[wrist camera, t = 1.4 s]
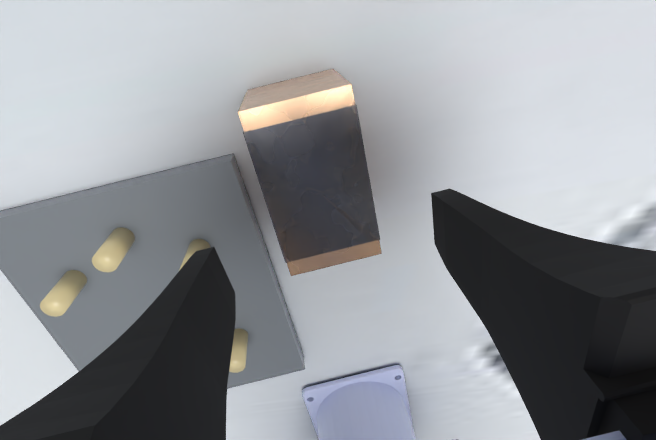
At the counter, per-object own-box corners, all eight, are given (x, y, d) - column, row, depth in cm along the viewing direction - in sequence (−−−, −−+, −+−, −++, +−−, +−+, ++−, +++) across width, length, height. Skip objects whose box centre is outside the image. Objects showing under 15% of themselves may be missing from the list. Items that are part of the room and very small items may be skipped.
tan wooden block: (360, 205, 23) (382, 253, 19) (287, 223, 23) (290, 276, 19) (334, 68, 20) (352, 83, 15) (246, 89, 20) (236, 112, 15)
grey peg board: (303, 356, 28) (307, 399, 25) (119, 402, 28) (99, 451, 25) (233, 153, 21) (224, 178, 18) (-18, 215, 21) (-72, 251, 18)
